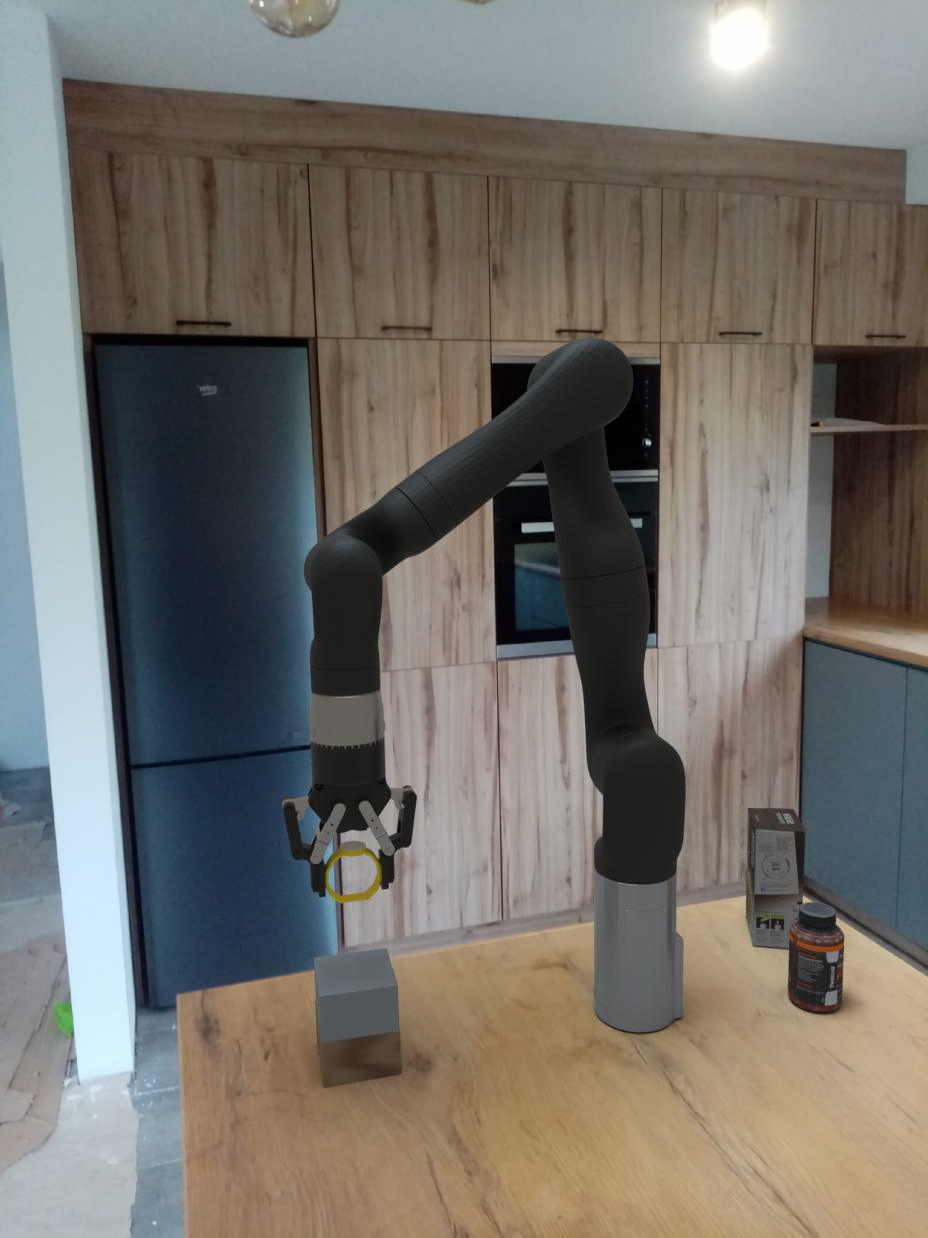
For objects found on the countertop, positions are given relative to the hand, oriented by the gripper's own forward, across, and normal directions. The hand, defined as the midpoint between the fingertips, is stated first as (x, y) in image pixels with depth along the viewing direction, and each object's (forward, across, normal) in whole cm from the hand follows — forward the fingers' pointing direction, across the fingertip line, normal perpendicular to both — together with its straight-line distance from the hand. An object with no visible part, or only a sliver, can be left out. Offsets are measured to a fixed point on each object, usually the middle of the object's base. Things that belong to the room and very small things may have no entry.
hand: (352, 890), depth 92 cm
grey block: (+14, 0, 0) cm, 14 cm away
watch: (+1, 0, 0) cm, 1 cm away
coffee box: (+19, -58, -12) cm, 62 cm away
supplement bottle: (+19, -53, +4) cm, 56 cm away
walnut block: (+19, 0, 0) cm, 19 cm away
